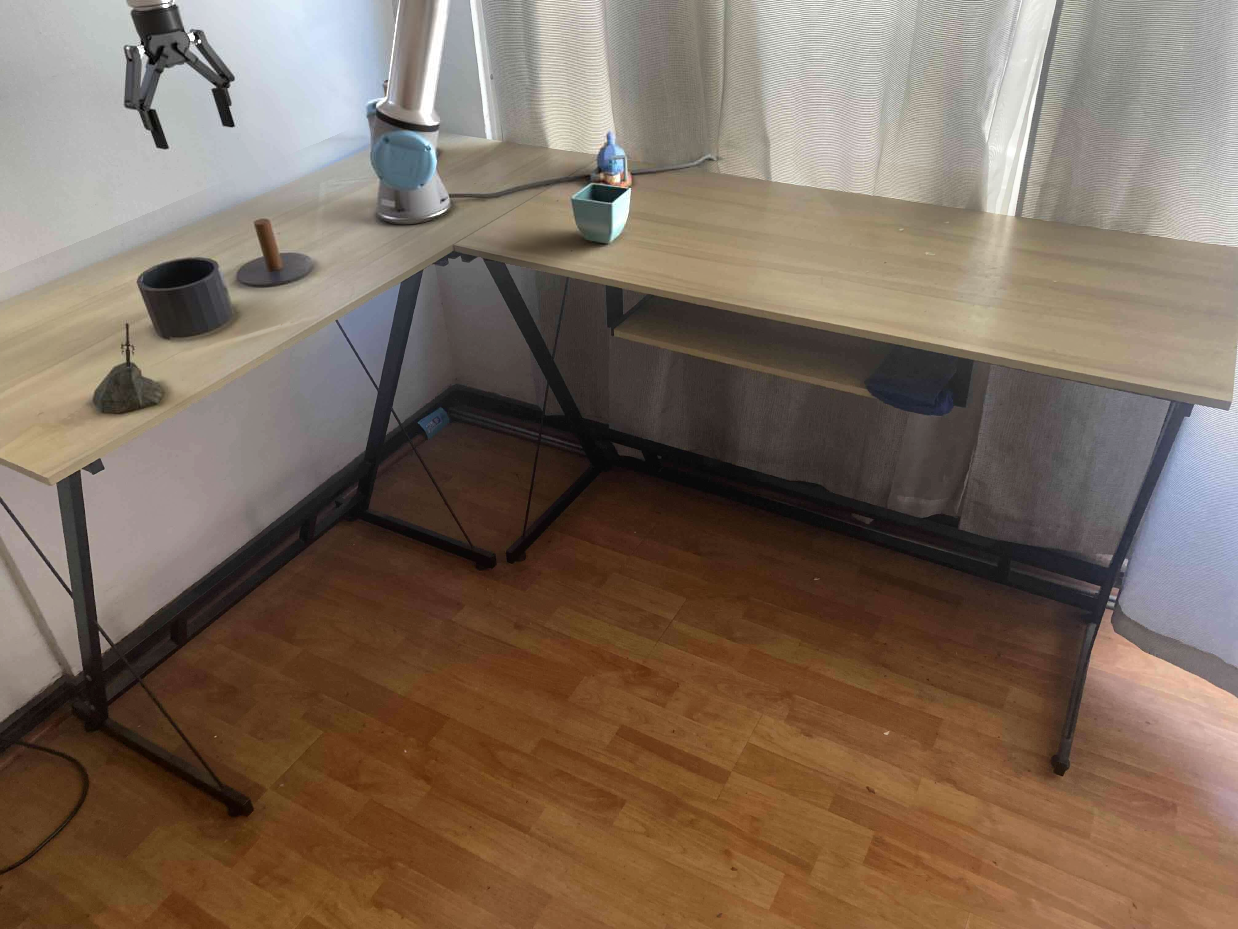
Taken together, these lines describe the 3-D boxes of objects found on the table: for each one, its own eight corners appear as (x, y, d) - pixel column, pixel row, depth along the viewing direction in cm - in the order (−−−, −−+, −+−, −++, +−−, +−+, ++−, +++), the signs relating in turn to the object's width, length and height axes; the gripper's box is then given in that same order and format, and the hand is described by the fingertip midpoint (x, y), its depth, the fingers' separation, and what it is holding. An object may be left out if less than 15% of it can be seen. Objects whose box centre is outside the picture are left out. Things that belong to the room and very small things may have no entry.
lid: (302, 252, 179) (288, 201, 173) (324, 276, 169) (310, 223, 163) (230, 270, 173) (213, 219, 167) (249, 297, 164) (232, 243, 158)
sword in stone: (85, 418, 133) (51, 345, 126) (100, 390, 140) (68, 319, 133) (157, 409, 135) (127, 336, 127) (168, 381, 141) (141, 311, 134)
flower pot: (633, 232, 180) (631, 187, 174) (614, 249, 173) (612, 203, 168) (593, 226, 183) (590, 182, 177) (573, 243, 176) (569, 198, 171)
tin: (224, 298, 164) (209, 250, 158) (243, 325, 155) (227, 276, 150) (149, 318, 159) (130, 270, 153) (163, 348, 150) (144, 297, 144)
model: (589, 172, 208) (587, 131, 203) (630, 170, 208) (629, 128, 203) (590, 191, 199) (587, 148, 193) (632, 189, 199) (631, 146, 193)
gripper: (204, -10, 161) (242, 115, 173) (68, 19, 145) (120, 155, 157) (230, -8, 157) (267, 119, 170) (94, 22, 141) (145, 160, 154)
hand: (196, 137), depth 164 cm, fingers open, 13 cm apart
